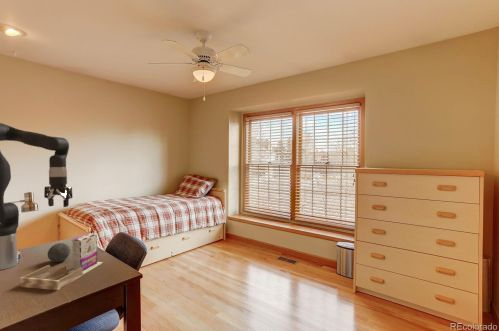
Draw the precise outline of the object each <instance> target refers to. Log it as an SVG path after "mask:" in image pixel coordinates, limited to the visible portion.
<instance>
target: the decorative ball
mask: <svg viewBox="0 0 499 331" xmlns="http://www.w3.org/2000/svg"><path fill="white" fill-rule="evenodd" d="M70 253H71V248H70V246H69V245H67V244H66V243H63V242H58V243H55V244H53V245H51V247H50V248H49V249H48V251H47V258H48V259H49V260H50V261H51V262H53V263H60V262H63V261H65V260H66V259H68V257H69V256H70Z"/></svg>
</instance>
